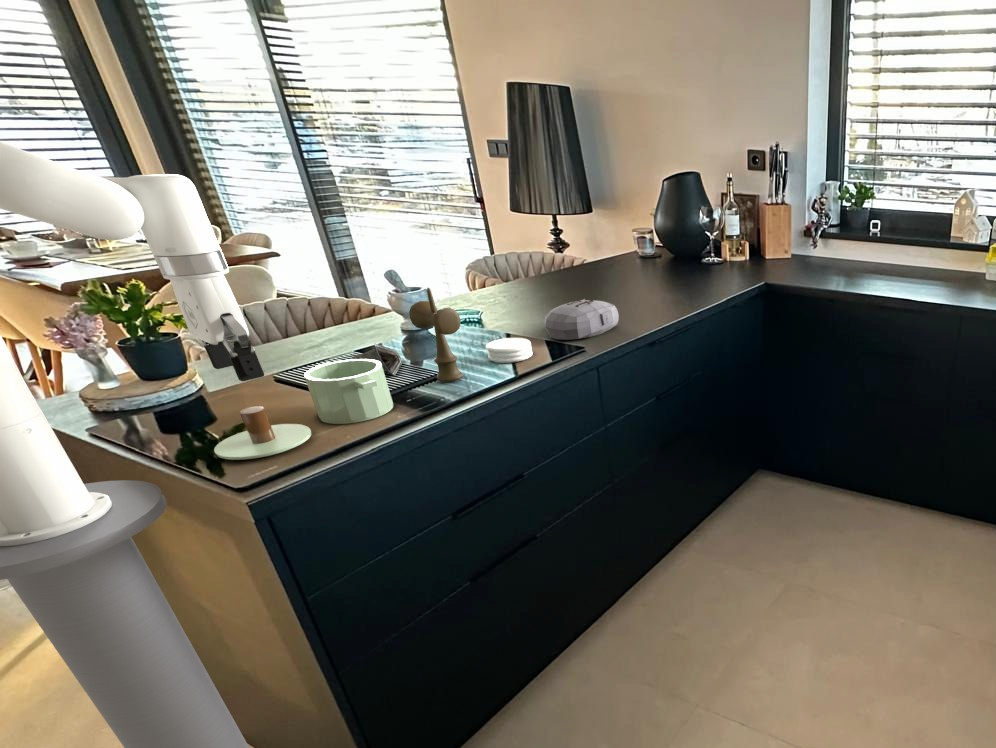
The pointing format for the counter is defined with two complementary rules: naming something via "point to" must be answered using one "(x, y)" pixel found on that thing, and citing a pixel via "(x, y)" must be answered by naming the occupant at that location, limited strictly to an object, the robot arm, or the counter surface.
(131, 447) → the counter surface
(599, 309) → the grey rounded bag
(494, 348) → the coaster
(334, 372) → the pot
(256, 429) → the lid
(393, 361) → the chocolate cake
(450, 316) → the kendama
